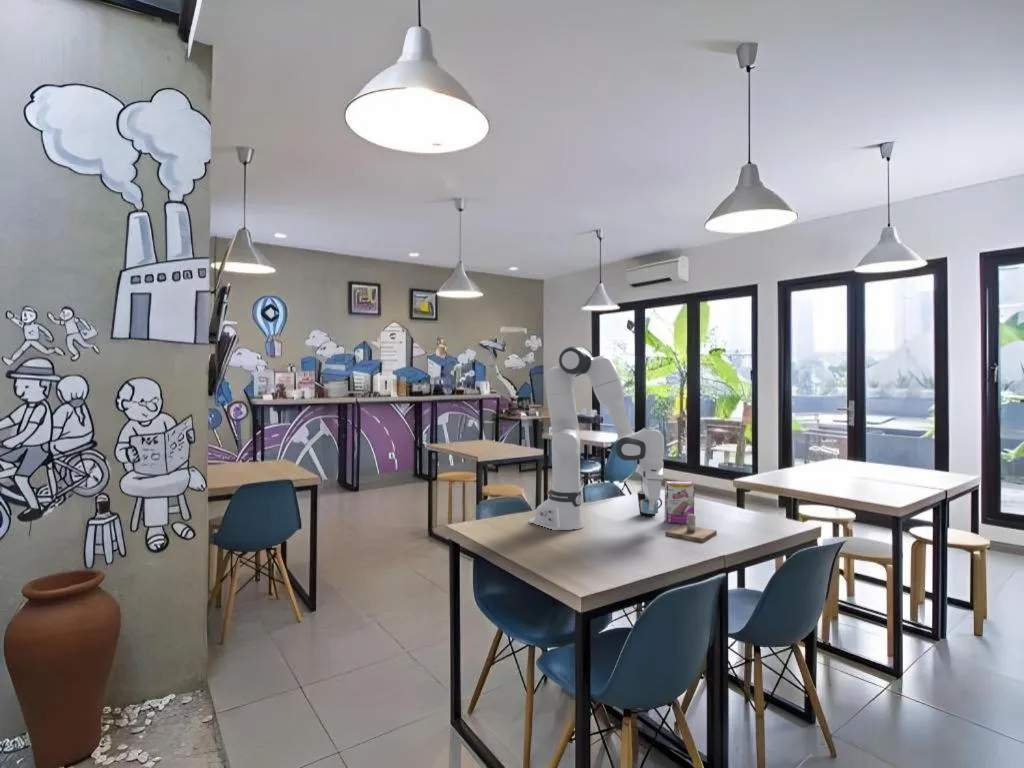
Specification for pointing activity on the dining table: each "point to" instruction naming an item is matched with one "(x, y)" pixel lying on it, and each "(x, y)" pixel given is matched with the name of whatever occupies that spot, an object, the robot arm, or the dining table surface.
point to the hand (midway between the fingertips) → (649, 507)
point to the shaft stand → (691, 531)
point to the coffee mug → (640, 497)
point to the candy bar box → (678, 501)
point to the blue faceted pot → (646, 504)
